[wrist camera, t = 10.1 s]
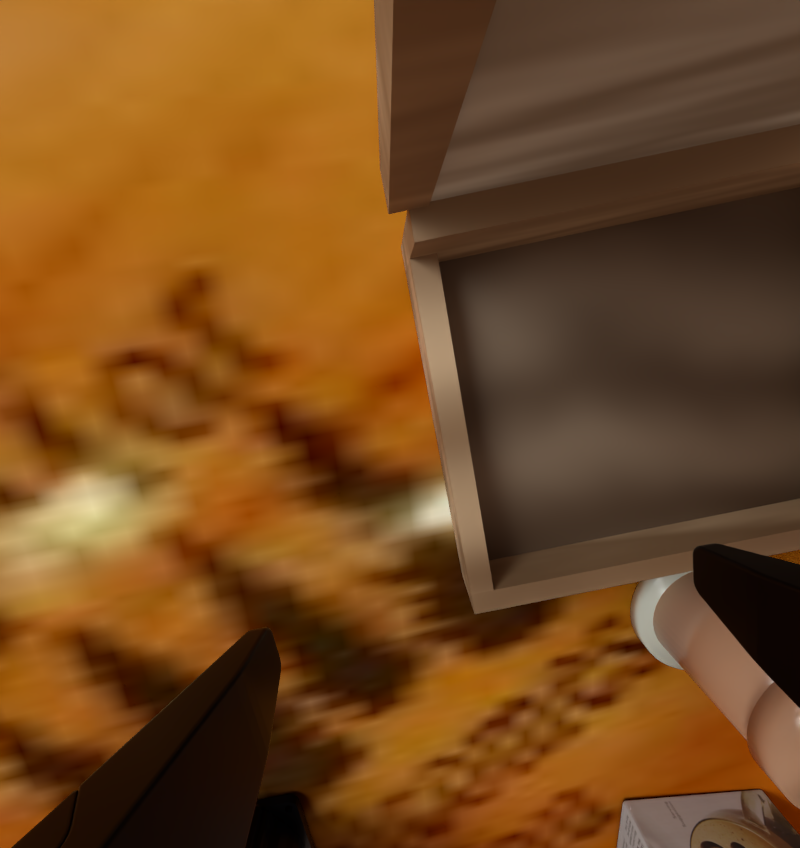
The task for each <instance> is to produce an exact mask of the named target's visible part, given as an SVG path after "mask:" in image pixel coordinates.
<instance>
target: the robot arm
mask: <svg viewBox="0 0 800 848" xmlns="http://www.w3.org/2000/svg"><path fill="white" fill-rule="evenodd" d="M693 581H694V585H695V588H696V590H697V592H698V593H699V595H700V596H701V597H702V598H703V600H704V601H705V602H706V603H707V604H708V606H709V607H710V608H711V609H712V610H713V612H714V613H715V614H716V615H717V617H718V618H719V619H720V620H721V621H722V623H723V624H724V625H725V626H726V627H727V629H728V630H729V631H730V632H731V634H732V635H733V636H734V637H735V638H736V640H737V641H738V642H739V643H740V644H741V646H742V647H743V648H744V649H745V651H746V652H747V653H748V654H749V655H750V656H751V657H752V659H753V660H754V661H755V662H756V663H757V664H758V665H759V667H760V668H761V669H762V670H763V671H764V672H765V673H766V674H767V675H768V676H769V677H770V678H771V679H772V680H773V681H774V682H775V683H776V684H777V685H778V687H779V688H780V689H781V690H782V691H783V692H784V693H785V694H786V695H787V696H788V697H789V698H790V699H791V700H792V701H793V702H794V703H795V704H796V705H797V706H798V707H799V708H800V565H799V564H795V563H791V562H788V561H784V560H780V559H776V558H772V557H768V556H764V555H761V554H757V553H753V552H749V551H745V550H741V549H738V548H734V547H730V546H726V545H722V544H718V543H712V544H706V545H701V546H697V547H696V548H694V550H693ZM280 673H281V661H280V657H279V653H278V650H277V647H276V643H275V640H274V637H273V633H272V631H271V630H270V628H268V627H263V628H258V629H253V630H250V631H248V632H247V633H246V634H245V635H243V636H242V637H241V638H240V639H239V640H238V641H237V642H236V643H235V644H234V645H233V646H231V647H230V648H229V649H228V650H227V651H226V652H225V653H224V654H223V655H222V656H221V657H219V658H218V659H217V660H216V661H215V662H214V663H213V664H212V665H211V666H210V667H209V668H208V669H206V670H205V671H204V672H203V673H202V674H201V675H200V676H199V677H198V678H197V679H196V680H194V681H193V682H192V683H191V684H190V685H189V686H188V687H187V688H186V689H185V690H184V691H182V692H181V693H180V694H179V695H178V696H177V697H176V698H175V699H174V700H173V701H172V702H170V703H169V704H168V705H167V706H166V707H165V708H164V709H163V710H162V711H161V712H160V713H158V714H157V715H156V716H155V717H154V718H153V719H152V720H151V721H150V722H149V723H148V724H146V725H145V726H144V727H143V728H142V729H141V730H140V731H139V732H138V733H137V734H136V735H134V736H133V737H132V738H131V739H130V740H129V741H128V742H127V743H126V744H125V745H124V746H122V747H121V748H120V749H119V750H118V751H117V752H116V753H115V754H114V755H113V756H112V757H110V758H109V759H108V760H107V761H106V762H105V763H104V764H103V765H102V766H101V767H100V768H98V769H97V770H96V771H95V772H94V773H93V774H92V775H91V776H90V777H89V778H88V779H87V780H85V781H84V782H83V783H82V784H81V785H80V787H79V790H75V791H73V792H72V793H71V794H70V795H69V796H68V797H67V798H66V799H65V800H64V801H62V802H61V803H60V804H59V805H58V806H57V807H56V808H55V809H54V810H53V811H52V812H50V813H49V814H48V815H47V816H46V817H45V818H44V819H43V820H42V821H41V822H39V823H38V824H37V825H36V826H35V827H34V828H33V829H32V830H30V831H29V832H28V833H27V834H26V835H25V836H24V837H23V838H22V839H20V840H19V841H18V842H17V843H16V844H15V845H14V846H13V847H12V848H315V845H314V843H313V840H312V837H311V834H310V831H309V828H308V825H307V822H306V819H305V816H304V813H303V810H302V807H301V804H300V801H299V799H298V797H297V796H295V795H292V794H290V795H283V796H278V797H273V798H268V799H263V800H258V801H257V798H258V794H259V790H260V786H261V781H262V777H263V773H264V769H265V765H266V761H267V756H268V751H269V745H270V739H271V733H272V726H273V719H274V713H275V706H276V700H277V693H278V686H279V680H280Z"/></svg>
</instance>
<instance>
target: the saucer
mask: <svg viewBox="0 0 800 848" xmlns="http://www.w3.org/2000/svg"><path fill="white" fill-rule="evenodd" d="M690 572H692V571H690ZM690 572H685V573H680V574H675V575H669V576H664V577H659V578H654V579H649V580H644V581H640V582H639V584H638V585H637V587H636V590H635V592H634V594H633V598H632V601H631V608H630V617H631V623H632V626H633V629H634V631H635V633H636V635H637V637H638V638H639V639H640V641H641V642H642V643H643V644H644V646H645V647H646V648H647V649H648V650H649V652H650V653H651V654H652V655H653V656H654V657H655V658H656V659H658V660H659V661H661V662H662V663H664V664H666V665H668V666H671V667H674V668H677V669H682V670H684V669H683V668H682V667H681V666H680V665H679V664H678V663H677V661H676V660H675V659H674V658H673V657H672V656H671V655H670V654H669V652H668V651H667V650H666V649H665V648H664V647H663V646H662V645H661V643H660V642H659V641H658V639H657V637H656V635H655V632H654V627H653V616H654V611H655V608H656V605H657V603H658V601H659V599H660V597H661V596H662V594H663V593H664V592H665V590H666V589H667V588H668V587H669V586H670V585H671V584H672V583H674V582H675V581H676V580H677V579H679V578H680V577H682V576H684V575H686V574H688V573H690Z"/></svg>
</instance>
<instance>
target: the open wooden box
mask: <svg viewBox="0 0 800 848" xmlns="http://www.w3.org/2000/svg"><path fill="white" fill-rule="evenodd" d="M374 9H375V38H376V66H377V94H378V122H379V151H380V171H381V176H382V181H383V187H384V192H385V197H386V202H387V208H388V213H389V214H392V213H397V212H401V211H406V210H407V216H406V222H405V228H404V234H403V240H402V246H401V249H402V255H403V260H404V266H405V271H406V276H407V282H408V287H409V292H410V298H411V303H412V308H413V314H414V319H415V324H416V330H417V335H418V341H419V346H420V351H421V357H422V362H423V367H424V373H425V378H426V383H427V389H428V394H429V400H430V405H431V410H432V416H433V421H434V426H435V432H436V437H437V442H438V448H439V453H440V459H441V464H442V469H443V475H444V480H445V485H446V491H447V496H448V501H449V507H450V512H451V518H452V523H453V528H454V534H455V539H456V544H457V550H458V555H459V560H460V566H461V571H462V576H463V579H464V582H465V585H466V588H467V591H468V594H469V597H470V601H471V604H472V607H473V610H474V613H475V614H478V613H483V612H488V611H493V610H498V609H503V608H508V607H513V606H519V605H524V604H529V603H534V602H539V601H544V600H549V599H554V598H559V597H564V596H569V595H574V594H579V593H584V592H589V591H594V590H599V589H604V588H609V587H614V586H619V585H624V584H629V583H634V582H639V581H644V580H649V579H654V578H659V577H664V576H669V575H675V574H680V573H685V572H690V571H693V550H694V548H696V547H697V546H701V545H706V544H712V543H718V544H722V545H726V546H730V547H734V548H738V549H741V550H745V551H749V552H753V553H757V554H761V555H764V556H770V555H775V554H780V553H785V552H790V551H795V550H800V0H374Z"/></svg>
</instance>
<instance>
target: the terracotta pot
mask: <svg viewBox="0 0 800 848" xmlns="http://www.w3.org/2000/svg"><path fill="white" fill-rule="evenodd" d="M653 627H654V632H655V635H656V637H657V639H658V641H659V642H660V643H661V645H662V646H663V647H664V648H665V649H666V650H667V651H668V652H669V654H670V655H671V656H672V657H673V658H674V659H675V660H676V661H677V663H678V664H679V665H680V666H681V667H682V668H683V669H684V670H685V672H686V673H687V674H688V675H689V676H690V677H691V678H692V679H693V681H694V682H695V683H696V684H697V685H698V686H699V687H700V688H701V689H702V691H703V692H704V693H705V694H706V695H707V696H708V697H709V698H710V700H711V701H712V702H713V703H714V704H715V705H716V706H717V707H718V709H719V710H720V711H721V712H722V713H723V714H724V715H725V716H726V718H727V719H728V720H729V721H730V722H731V723H732V724H733V725H734V726H735V728H736V729H737V730H738V731H739V732H740V733H741V734H742V735H743V737H744V738H745V739H746V740H747V743H748V747H749V750H750V753H751V755H752V757H753V759H754V760H755V761H756V763H757V764H758V765H759V766H760V768H761V769H762V770H763V771H764V772H765V773H766V774H767V776H768V777H769V778H770V779H771V780H772V781H773V783H774V784H775V785H776V786H777V787H778V788H779V789H780V791H781V792H782V793H783V794H784V795H785V796H786V798H787V799H788V800H789V801H790V802H791V803H792V804H793V805H794V806H796V807H797V808H799V809H800V708H799V707H798V706H797V705H796V704H795V703H794V702H793V701H792V700H791V699H790V698H789V697H788V696H787V695H786V694H785V693H784V692H783V691H782V690H781V689H780V688H779V687H778V685H777V684H776V683H775V682H774V681H773V680H772V679H771V678H770V677H769V676H768V675H767V674H766V673H765V672H764V671H763V670H762V669H761V668H760V667H759V665H758V664H757V663H756V662H755V661H754V660H753V659H752V657H751V656H750V655H749V654H748V653H747V652H746V651H745V649H744V648H743V647H742V646H741V644H740V643H739V642H738V641H737V640H736V638H735V637H734V636H733V635H732V634H731V632H730V631H729V630H728V629H727V627H726V626H725V625H724V624H723V623H722V621H721V620H720V619H719V618H718V617H717V615H716V614H715V613H714V612H713V610H712V609H711V608H710V607H709V606H708V604H707V603H706V602H705V601H704V600H703V598H702V597H701V596H700V595H699V593H698V592H697V590H696V588H695V585H694V581H693V571H692V572H690V573H688V574H686V575H684V576H682V577H680V578H679V579H677V580H676V581H675V582H674V583H672V584H671V585H670V586H669V587H668V588H667V589H666V590H665V592H664V593H663V594H662V596H661V597H660V599H659V601H658V603H657V605H656V608H655V611H654V616H653Z"/></svg>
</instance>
